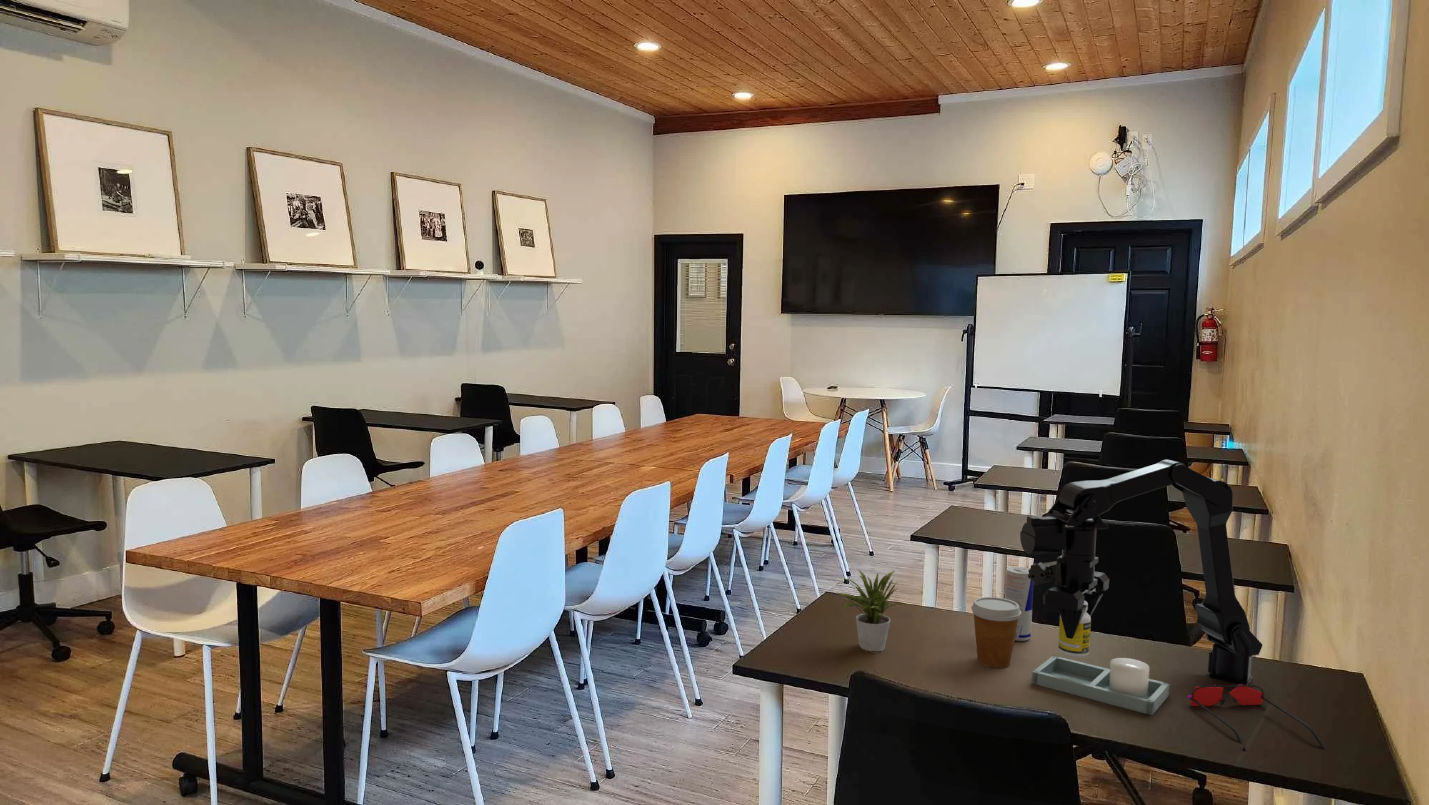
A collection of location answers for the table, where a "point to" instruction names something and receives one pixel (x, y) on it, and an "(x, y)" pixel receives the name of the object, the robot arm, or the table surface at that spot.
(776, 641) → the table surface
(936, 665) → the table surface
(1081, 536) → the robot arm
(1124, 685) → the white pillar candle
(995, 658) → the disposable coffee cup
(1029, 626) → the beverage can
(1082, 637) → the supplement bottle
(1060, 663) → the tray
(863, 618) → the house plant
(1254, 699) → the glasses
